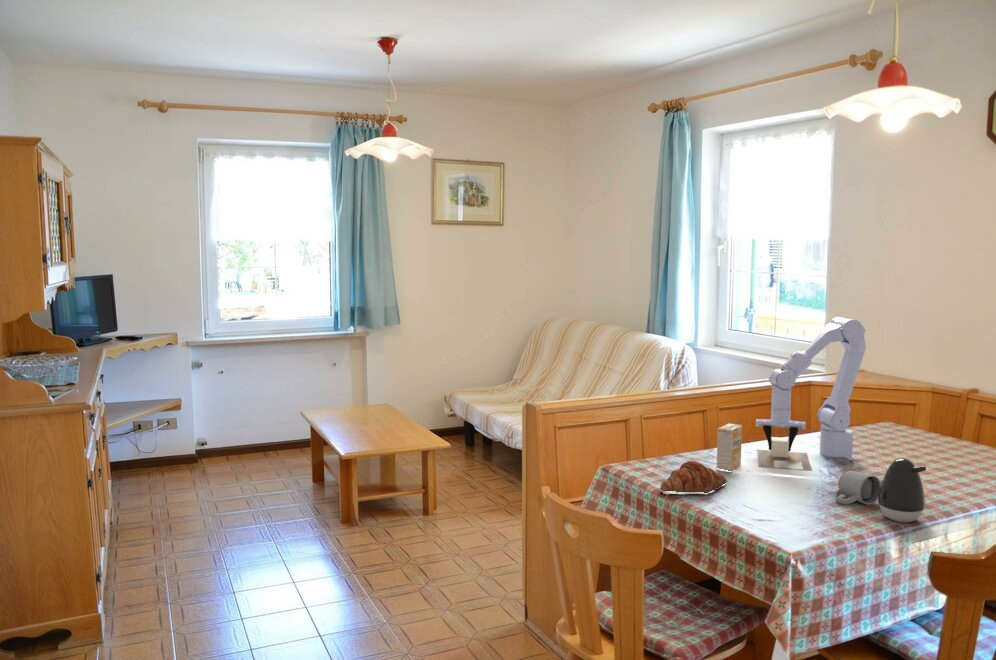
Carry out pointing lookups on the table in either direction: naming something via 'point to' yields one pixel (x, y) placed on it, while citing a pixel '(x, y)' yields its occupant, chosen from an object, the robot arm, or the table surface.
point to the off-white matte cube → (779, 447)
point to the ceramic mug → (858, 488)
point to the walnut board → (784, 461)
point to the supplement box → (729, 446)
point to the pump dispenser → (902, 491)
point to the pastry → (693, 479)
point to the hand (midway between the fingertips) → (779, 449)
